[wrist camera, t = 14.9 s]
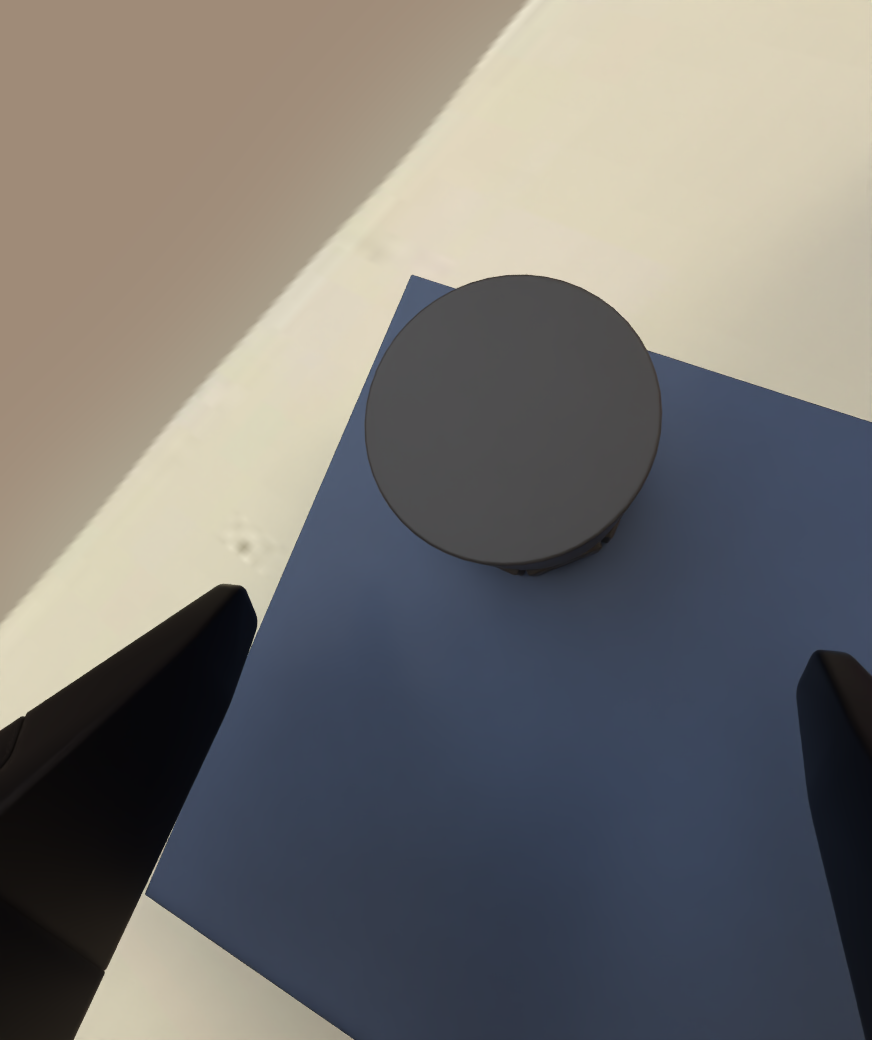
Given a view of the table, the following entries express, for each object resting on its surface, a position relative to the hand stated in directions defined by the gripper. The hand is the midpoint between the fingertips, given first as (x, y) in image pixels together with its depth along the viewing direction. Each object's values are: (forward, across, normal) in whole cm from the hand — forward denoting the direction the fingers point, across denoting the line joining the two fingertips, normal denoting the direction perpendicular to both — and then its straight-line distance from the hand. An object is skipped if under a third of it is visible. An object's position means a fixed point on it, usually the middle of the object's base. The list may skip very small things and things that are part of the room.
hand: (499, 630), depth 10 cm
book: (+3, -4, +7) cm, 9 cm away
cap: (+4, 0, 0) cm, 5 cm away
